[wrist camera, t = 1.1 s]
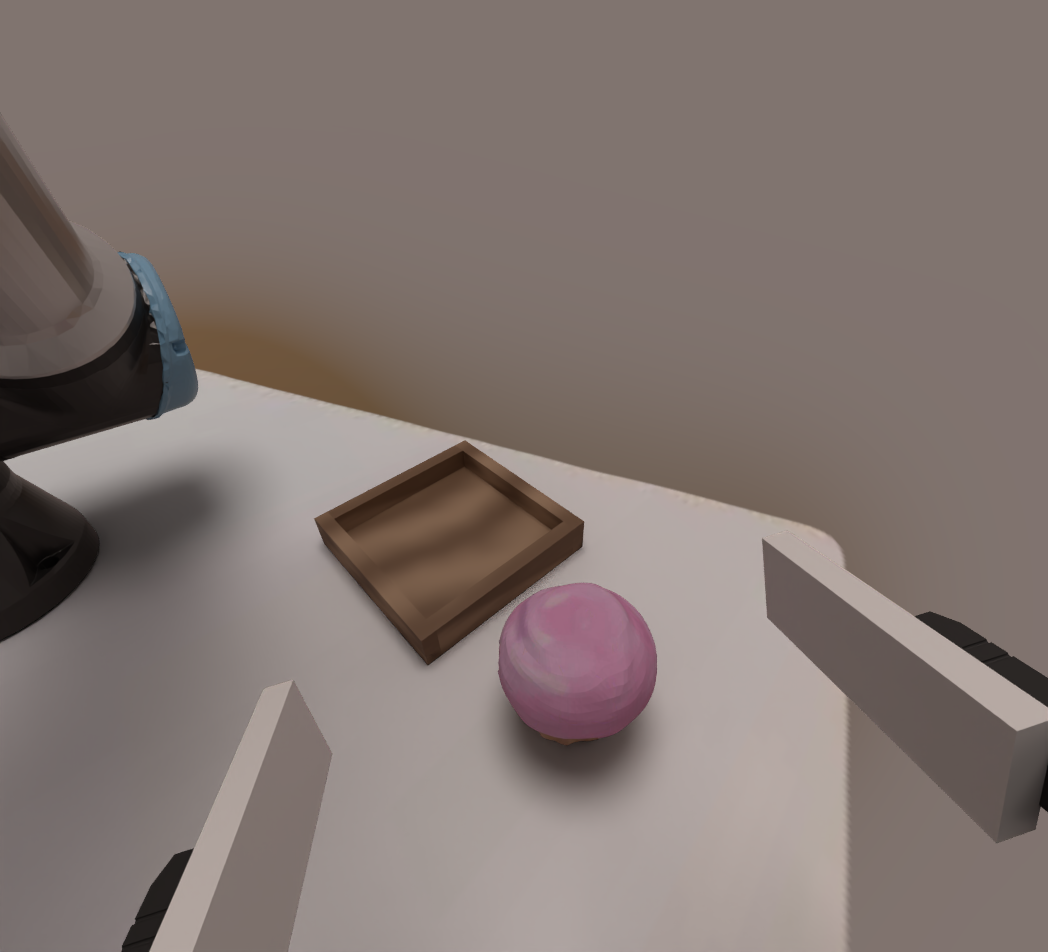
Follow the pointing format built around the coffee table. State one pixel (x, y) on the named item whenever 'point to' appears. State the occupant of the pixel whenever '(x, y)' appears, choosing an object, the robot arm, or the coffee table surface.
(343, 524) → the serving tray
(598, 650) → the cupcake
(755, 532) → the coffee table surface
